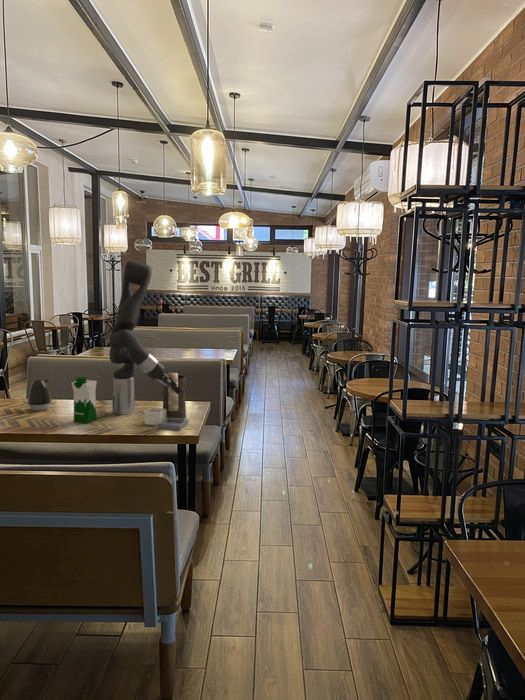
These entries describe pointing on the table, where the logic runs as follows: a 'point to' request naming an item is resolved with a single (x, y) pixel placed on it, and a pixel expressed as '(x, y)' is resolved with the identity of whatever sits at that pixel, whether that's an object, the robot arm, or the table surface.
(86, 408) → the milk carton
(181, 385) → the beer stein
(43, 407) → the dark grey rounded piece
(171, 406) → the birch pin
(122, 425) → the table surface
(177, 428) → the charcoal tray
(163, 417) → the light grey square box
